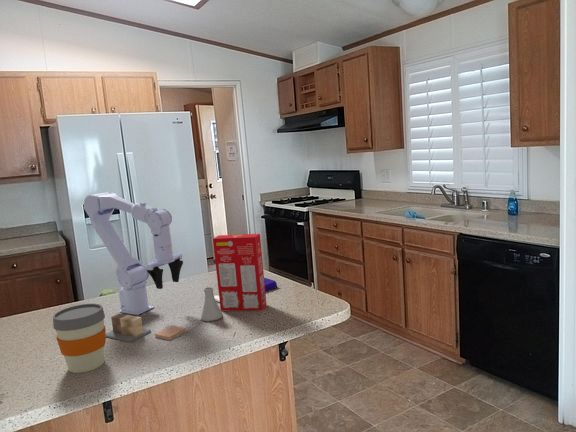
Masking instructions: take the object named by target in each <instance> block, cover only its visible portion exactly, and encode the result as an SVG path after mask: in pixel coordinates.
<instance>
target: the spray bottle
mask: <svg viewBox="0 0 576 432" xmlns="http://www.w3.org/2000/svg"><path fill="white" fill-rule="evenodd" d="M264 283H265V293H267V292H269V290H270V291H272V290H275V289H277V288H276V287H278V284H277V282H276V280H274V279H270V278H267V277H264ZM274 288H275V289H274ZM214 298H215V300H216V302H217V303H220V299H219V294H218V295H214Z"/></svg>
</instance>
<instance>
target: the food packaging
mask: <svg viewBox="0 0 576 432" xmlns="http://www.w3.org/2000/svg"><path fill="white" fill-rule="evenodd" d="M212 241H213V252H214V261H215V262H214V263H215V271H216V279H217V290H218V295H219V299H220V302H219V308H220V310H221V312H233V311H234V312H235V311H236V312H238V311H239V312H241V311H243V312H244V311H245V312H246V311H247V312H248V311H254V312H255V311H257V312H258V311H260V312H261V311H264V309H265V308H266V307H267V296H266V294H267V292H265V283H264V278H265V273H264V263H263V252H262V242H261V241H262V240H261V234H260V233H246V234H223V235H222V234H220V235H216V236H215V237H214V238H212Z"/></svg>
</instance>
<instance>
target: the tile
mask: <svg viewBox="0 0 576 432" xmlns="http://www.w3.org/2000/svg"><path fill="white" fill-rule="evenodd" d="M186 332H187V328H186V327H184V326H183V327H182V326H176V325H170V326H168V327H166V328H164V329H163V330H160V331H158V332H156V333H155V334H154V337H155V338H158V339H162V340H167V341H171V340H173V339H175V338H177V337H178V336H180V335H182V334H184V333H186Z"/></svg>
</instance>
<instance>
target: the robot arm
mask: <svg viewBox="0 0 576 432" xmlns="http://www.w3.org/2000/svg"><path fill="white" fill-rule="evenodd" d="M82 208H83V209H84V211H85V213H86V214H87V216H88V217H89V221H90V223H91V225H92V227H93V229H94V230H95V231H96V233H97V235H98V237H99V238H100V239H101V241H102V243H103V244H104V246H105V248H106V249H107V251H108V252H109V254H110V256H111V257H112V259H113V260H114V262H115V264H116V265H117V267H116V269H115V271H114V273H115V275H116V277H117V281H118V283H119V286H121V288H120V290H119V292H118V296H119V305H120V310H119V311H118V312H119V313H121V314H127V315H133V316H138V315H140V314H143V313H145V312H147V311H150V310H152V309H153V308H155V305H149V298H148V292H147V283H148V281H147V280H148V279H149V277H151V279H152V280H153V282H154V284H155V288H156V290H157V289H159V290H162V289H163V287H164V286H163V283H164V282H163V273H164V269H163V268H160V267H162V266H165V265H168V268H169V270H170V274H171V279H172V280H171V281H172V282H173V283H179V282H180V281H179V280H180V275H181V270H182V267H183V265H184V261H183V254H182V253H174V252H173V246H172V237H171V230H170V229H171V228H170V225H171V224H172V221H173V217H172V213H170V210H167V209H165V208H162V209H158V207H155V206H154V207H152V206H150V205H148V204H147V203H146V202H144V201H141V202H136V204H135V203H133V202H131V201H130V200H127V199H125V198H123V197H120V196H119V195H117V193H115V192H111V191H106V192H100V193H95V194H88V195H86V196H85V198H84V202H83V207H82ZM115 209H117V210H120V211H123V212H125V213H128V214H130V215H131V217H132V218H133V219H135V220H137V221H139V222H142V223H145V224H146V225H147V227H149V229H150V233H151V234H152V240H153V248H154V249H153V250H154V256H155V259H154V260H152V261H151V262H149V263H146V264H145V265H144V264H143V263H142V262H141V260H140V259H138V258H134V257H133V256H132V255H131V253H130V251H129V250H128V248H127V247H126V246H125V244H124V243H123V240H122V239H121V237H120V236H119V234H118V233H117V231H116V230H115V229H114V226H113V225H112V223H111V222H110V218H111V217H112V214H113V212H114V210H115ZM173 253H174V254H173Z"/></svg>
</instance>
